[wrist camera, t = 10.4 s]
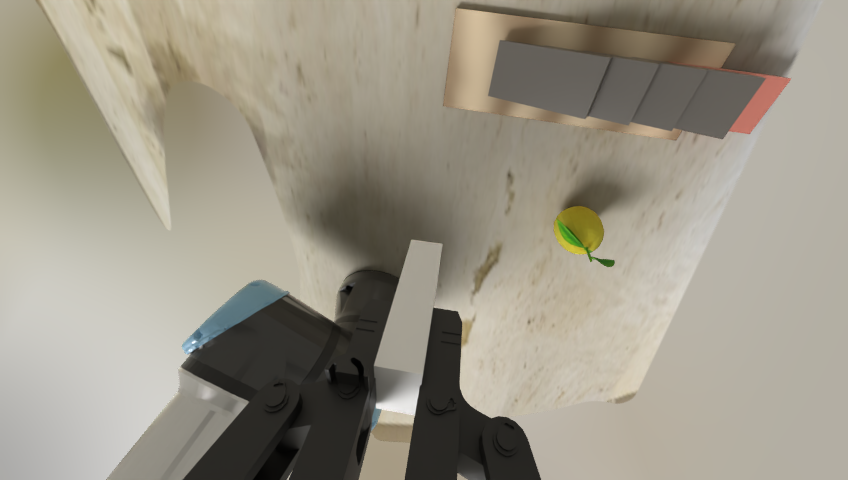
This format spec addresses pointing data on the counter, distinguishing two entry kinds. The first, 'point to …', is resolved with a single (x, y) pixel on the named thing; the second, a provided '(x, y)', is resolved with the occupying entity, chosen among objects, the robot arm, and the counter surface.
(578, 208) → the lemon
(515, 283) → the counter surface
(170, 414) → the robot arm
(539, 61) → the domino
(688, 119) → the domino
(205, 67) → the counter surface
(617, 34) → the board
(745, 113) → the domino
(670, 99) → the domino
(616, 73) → the domino
